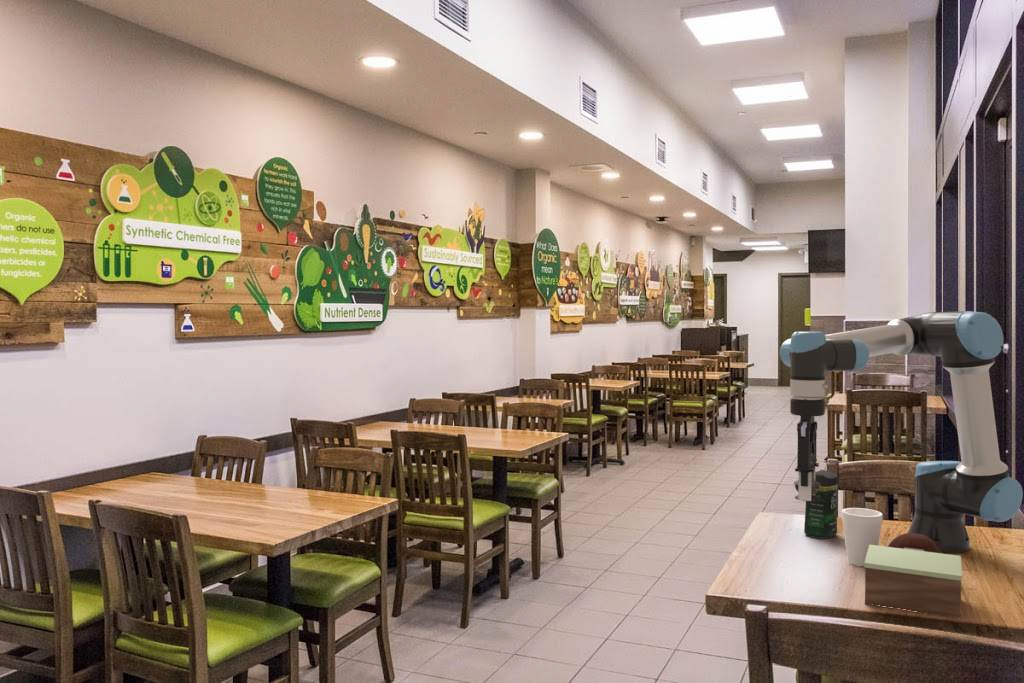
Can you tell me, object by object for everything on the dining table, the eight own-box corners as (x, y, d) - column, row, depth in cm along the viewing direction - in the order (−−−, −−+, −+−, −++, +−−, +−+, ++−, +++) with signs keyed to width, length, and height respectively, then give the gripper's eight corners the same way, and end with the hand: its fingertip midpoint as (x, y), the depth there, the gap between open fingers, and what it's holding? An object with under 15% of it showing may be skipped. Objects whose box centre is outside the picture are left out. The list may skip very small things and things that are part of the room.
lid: (962, 583, 161) (962, 576, 160) (864, 570, 169) (864, 562, 169) (960, 561, 174) (960, 554, 174) (869, 549, 183) (869, 543, 183)
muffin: (916, 586, 181) (917, 543, 181) (877, 572, 191) (877, 532, 191) (952, 579, 186) (952, 538, 185) (911, 566, 196) (912, 526, 196)
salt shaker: (817, 502, 178) (818, 450, 177) (790, 499, 181) (791, 448, 180) (822, 497, 183) (823, 446, 182) (796, 494, 186) (796, 444, 185)
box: (960, 619, 161) (961, 580, 161) (864, 604, 169) (865, 567, 169) (959, 598, 173) (959, 562, 173) (869, 585, 182) (870, 551, 181)
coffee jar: (828, 541, 218) (828, 475, 218) (800, 535, 224) (801, 471, 223) (841, 534, 225) (842, 470, 225) (814, 529, 231) (814, 466, 230)
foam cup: (885, 570, 193) (886, 517, 193) (846, 567, 195) (846, 515, 194) (876, 558, 202) (876, 508, 202) (838, 556, 204) (838, 507, 204)
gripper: (819, 402, 171) (818, 507, 172) (829, 395, 188) (829, 491, 188) (783, 400, 175) (783, 503, 175) (796, 393, 191) (796, 487, 192)
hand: (806, 496), depth 182 cm, fingers closed on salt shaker, 6 cm apart
